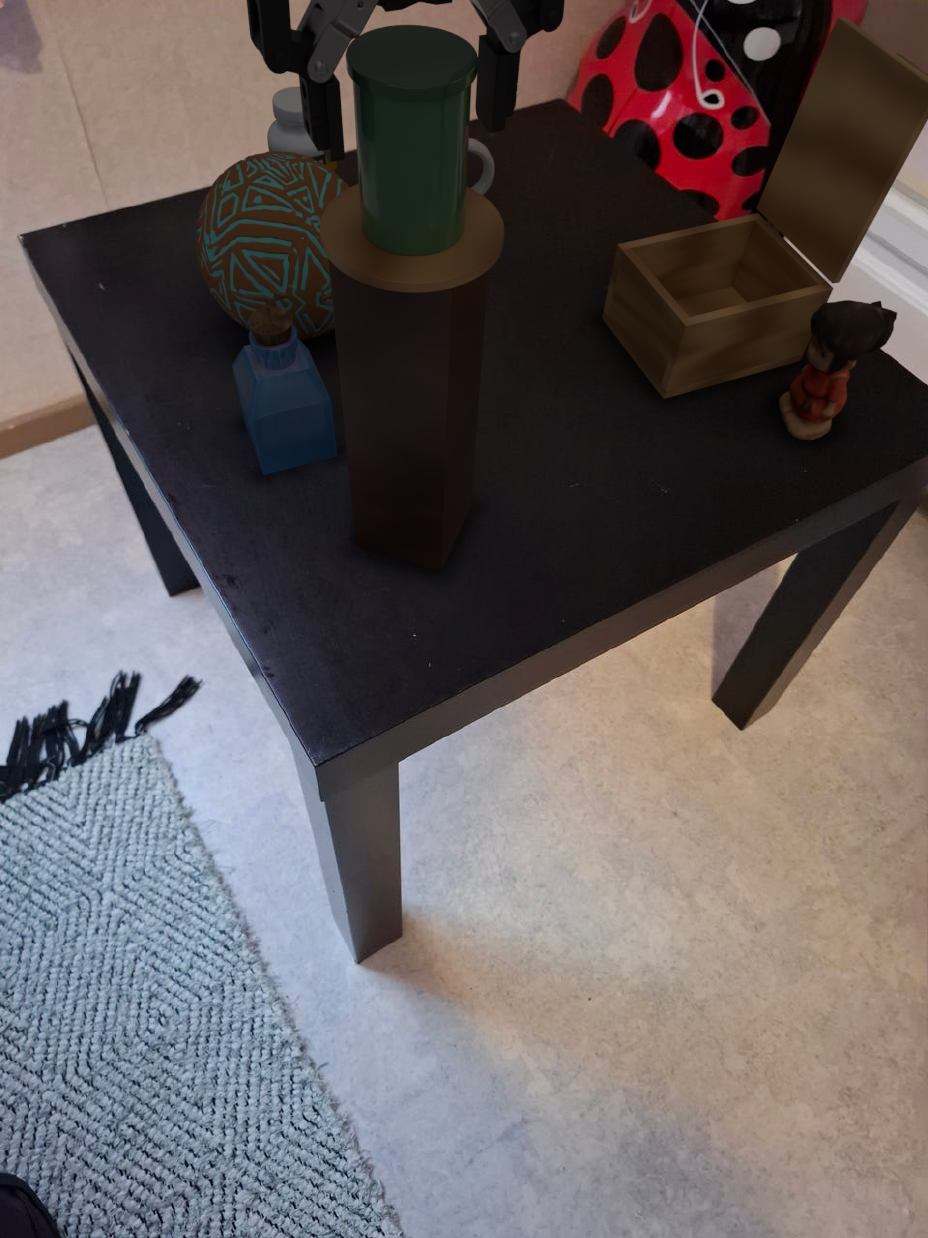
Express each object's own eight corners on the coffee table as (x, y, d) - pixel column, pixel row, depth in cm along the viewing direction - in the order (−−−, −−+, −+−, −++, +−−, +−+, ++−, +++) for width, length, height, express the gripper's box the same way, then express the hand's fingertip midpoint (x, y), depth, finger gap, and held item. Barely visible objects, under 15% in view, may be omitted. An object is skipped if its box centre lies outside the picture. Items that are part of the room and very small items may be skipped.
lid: (937, 88, 62) (989, 85, 64) (837, 16, 68) (887, 14, 70) (832, 283, 75) (878, 276, 76) (755, 208, 81) (800, 203, 82)
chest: (663, 399, 78) (685, 325, 72) (601, 318, 84) (617, 243, 77) (800, 361, 82) (833, 287, 75) (732, 286, 88) (757, 212, 81)
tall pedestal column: (494, 499, 71) (527, 197, 49) (453, 594, 65) (469, 301, 44) (379, 465, 72) (362, 158, 51) (329, 555, 67) (288, 255, 46)
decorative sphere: (183, 313, 82) (140, 153, 69) (314, 253, 88) (296, 96, 75) (276, 401, 76) (248, 243, 63) (409, 330, 82) (408, 173, 69)
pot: (483, 207, 49) (495, 39, 42) (447, 270, 45) (452, 98, 38) (381, 183, 50) (375, 14, 43) (338, 242, 46) (324, 70, 39)
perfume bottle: (337, 456, 73) (324, 338, 63) (263, 475, 71) (238, 356, 61) (315, 406, 76) (300, 286, 66) (244, 423, 74) (217, 303, 64)
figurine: (800, 384, 80) (855, 268, 70) (850, 419, 78) (914, 304, 68) (756, 413, 78) (806, 297, 68) (806, 450, 75) (865, 336, 65)
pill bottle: (291, 239, 89) (276, 122, 79) (268, 206, 92) (251, 88, 82) (351, 224, 91) (343, 108, 81) (326, 192, 94) (316, 76, 84)
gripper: (547, -369, 34) (510, 81, 47) (176, -359, 30) (251, 124, 44) (643, -320, 30) (573, 153, 44) (232, -302, 26) (295, 206, 40)
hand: (411, 138), depth 44 cm, fingers open, 8 cm apart
